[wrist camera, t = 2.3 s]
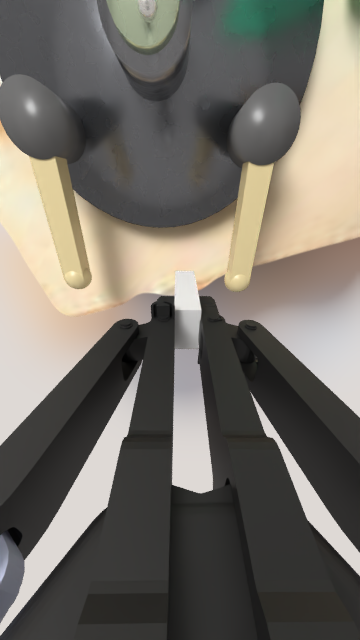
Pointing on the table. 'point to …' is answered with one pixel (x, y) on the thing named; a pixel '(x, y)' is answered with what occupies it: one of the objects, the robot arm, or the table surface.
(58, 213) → the knob
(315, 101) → the table surface
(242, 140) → the knob
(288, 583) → the robot arm
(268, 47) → the level base
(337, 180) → the table surface
